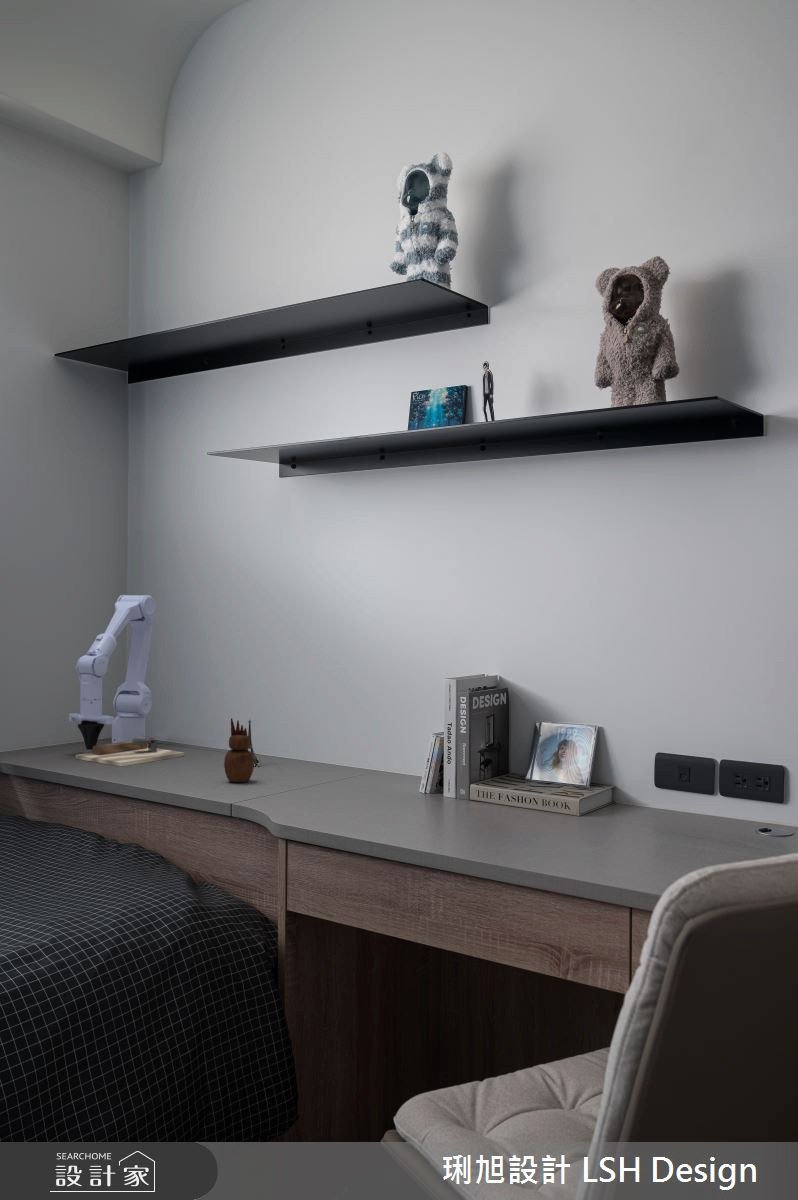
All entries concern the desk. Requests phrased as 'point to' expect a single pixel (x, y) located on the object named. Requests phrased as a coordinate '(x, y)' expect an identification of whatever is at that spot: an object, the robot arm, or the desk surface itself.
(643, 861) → the desk surface
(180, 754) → the base plate
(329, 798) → the desk surface
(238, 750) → the wooden figurine
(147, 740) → the keeper
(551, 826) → the desk surface
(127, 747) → the wooden stick
